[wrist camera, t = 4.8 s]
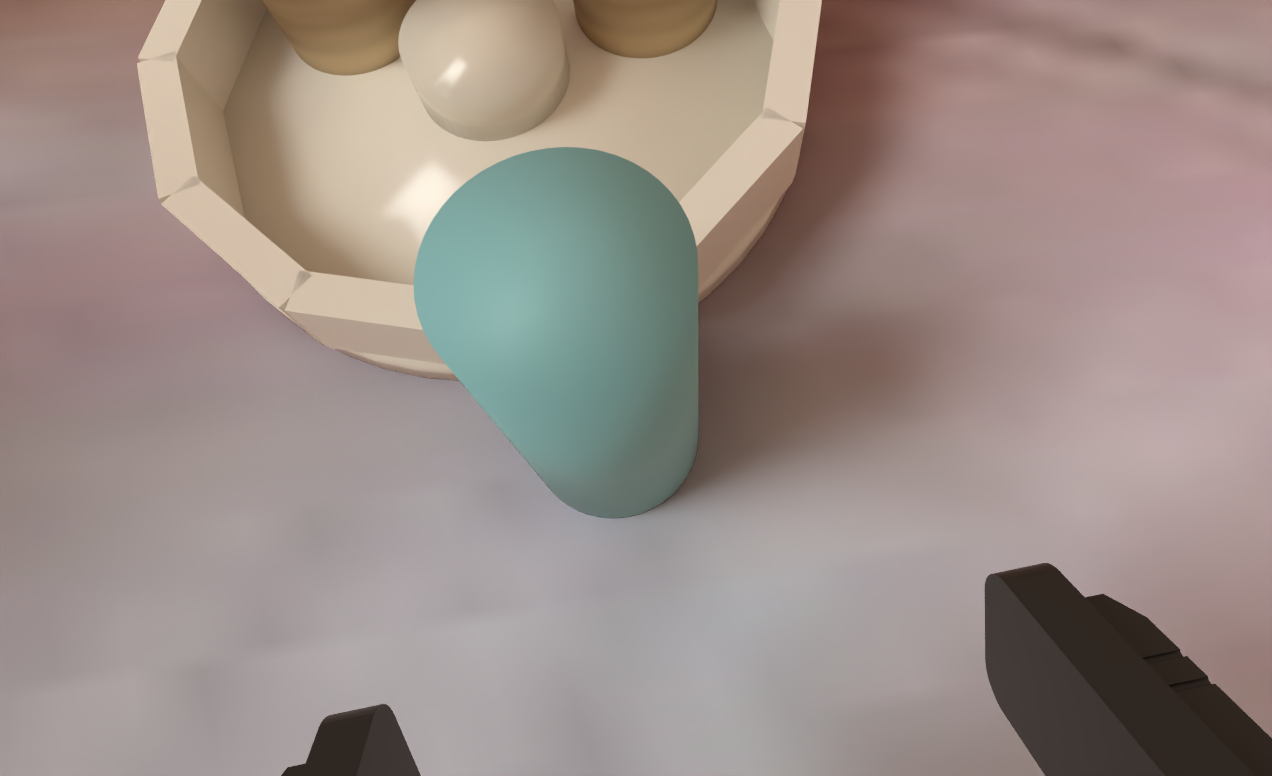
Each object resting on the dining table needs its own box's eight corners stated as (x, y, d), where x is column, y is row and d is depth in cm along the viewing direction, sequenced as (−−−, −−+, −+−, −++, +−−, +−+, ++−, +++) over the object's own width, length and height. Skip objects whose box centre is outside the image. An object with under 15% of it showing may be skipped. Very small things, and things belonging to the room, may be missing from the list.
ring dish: (764, 428, 22) (776, 383, 19) (122, 332, 25) (27, 278, 21) (833, -96, 29) (851, -202, 25) (319, -127, 31) (272, -226, 28)
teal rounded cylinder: (684, 531, 21) (672, 423, 12) (515, 503, 22) (378, 379, 13) (710, 369, 23) (717, 162, 13) (552, 347, 23) (453, 134, 14)
